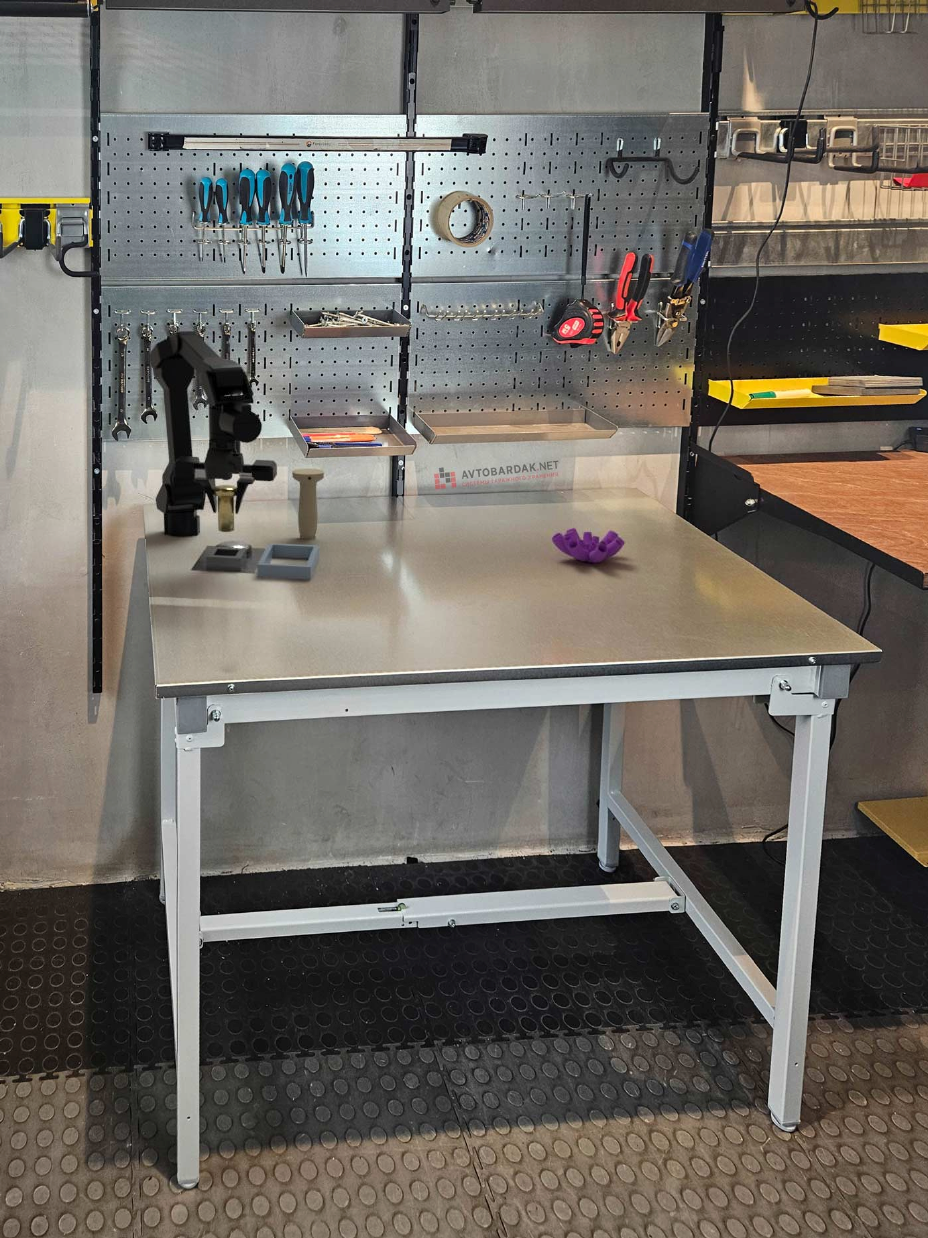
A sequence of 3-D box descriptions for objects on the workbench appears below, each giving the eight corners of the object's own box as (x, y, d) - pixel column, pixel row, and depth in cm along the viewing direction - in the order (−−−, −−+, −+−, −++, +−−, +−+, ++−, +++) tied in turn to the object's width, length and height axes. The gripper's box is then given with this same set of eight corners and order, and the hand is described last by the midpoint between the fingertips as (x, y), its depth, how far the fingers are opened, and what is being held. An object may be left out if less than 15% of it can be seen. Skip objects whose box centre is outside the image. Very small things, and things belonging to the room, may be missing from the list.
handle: (324, 544, 272) (325, 474, 266) (293, 545, 270) (293, 474, 265) (321, 538, 276) (322, 468, 271) (290, 538, 274) (291, 468, 269)
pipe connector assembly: (621, 581, 269) (625, 553, 261) (548, 575, 270) (550, 548, 262) (623, 537, 275) (627, 509, 267) (552, 532, 276) (554, 504, 268)
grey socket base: (190, 576, 248) (190, 557, 247) (207, 551, 263) (206, 534, 262) (253, 579, 248) (253, 561, 247) (266, 554, 263) (266, 537, 262)
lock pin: (212, 532, 248) (211, 490, 245) (217, 526, 252) (216, 484, 249) (235, 533, 248) (235, 491, 245) (239, 527, 252) (239, 485, 249)
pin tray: (257, 582, 247) (257, 564, 245) (268, 560, 260) (268, 543, 258) (310, 585, 247) (310, 567, 245) (319, 562, 260) (319, 545, 259)
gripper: (164, 438, 236) (167, 522, 241) (268, 443, 236) (268, 526, 241) (178, 426, 246) (180, 506, 251) (277, 430, 246) (277, 511, 252)
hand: (226, 512), depth 249 cm, fingers closed on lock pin, 4 cm apart
